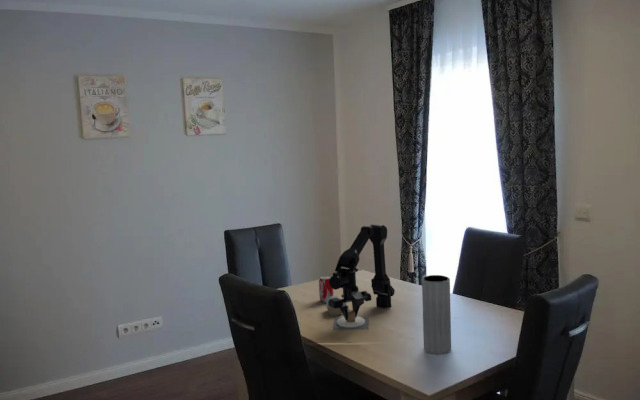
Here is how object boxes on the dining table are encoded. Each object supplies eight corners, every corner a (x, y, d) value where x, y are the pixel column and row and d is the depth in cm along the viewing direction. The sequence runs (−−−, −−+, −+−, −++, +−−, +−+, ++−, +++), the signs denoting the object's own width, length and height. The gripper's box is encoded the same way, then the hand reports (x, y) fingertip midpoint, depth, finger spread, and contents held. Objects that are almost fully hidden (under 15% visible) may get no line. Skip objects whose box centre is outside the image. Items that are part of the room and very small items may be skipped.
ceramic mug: (327, 317, 240) (327, 301, 239) (326, 311, 248) (326, 295, 247) (351, 316, 240) (350, 300, 239) (349, 310, 248) (348, 294, 247)
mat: (368, 318, 236) (368, 316, 236) (368, 330, 221) (368, 328, 221) (334, 319, 237) (334, 317, 237) (332, 331, 223) (332, 329, 222)
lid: (365, 318, 235) (364, 306, 234) (365, 327, 223) (364, 316, 222) (337, 318, 236) (337, 307, 235) (336, 328, 224) (335, 316, 223)
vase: (431, 342, 206) (430, 273, 203) (455, 347, 200) (454, 277, 197) (418, 350, 198) (416, 279, 195) (443, 356, 192) (441, 283, 189)
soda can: (332, 303, 260) (331, 279, 259) (318, 302, 262) (317, 279, 261) (335, 298, 267) (333, 275, 266) (321, 298, 269) (320, 275, 267)
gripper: (340, 291, 216) (342, 329, 217) (378, 283, 225) (379, 319, 227) (326, 286, 225) (328, 321, 227) (363, 278, 234) (364, 312, 236)
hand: (350, 319), depth 229 cm, fingers closed on lid, 4 cm apart
